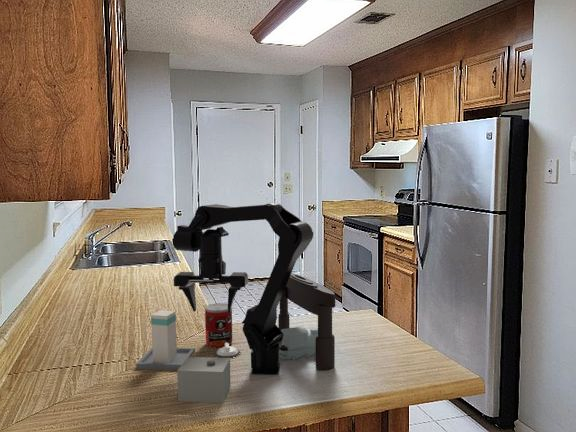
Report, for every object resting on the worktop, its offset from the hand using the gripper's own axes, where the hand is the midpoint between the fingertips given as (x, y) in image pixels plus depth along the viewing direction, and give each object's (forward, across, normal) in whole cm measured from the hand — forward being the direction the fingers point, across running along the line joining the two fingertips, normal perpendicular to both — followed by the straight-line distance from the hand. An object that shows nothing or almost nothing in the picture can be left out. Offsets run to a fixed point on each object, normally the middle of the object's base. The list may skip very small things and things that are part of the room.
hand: (212, 311), depth 136 cm
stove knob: (+14, -3, -4) cm, 14 cm away
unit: (+13, -3, +21) cm, 25 cm away
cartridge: (+12, +12, +2) cm, 18 cm away
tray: (+13, +12, +2) cm, 18 cm away
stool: (+13, -24, -6) cm, 28 cm away
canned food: (+13, +1, -12) cm, 18 cm away
